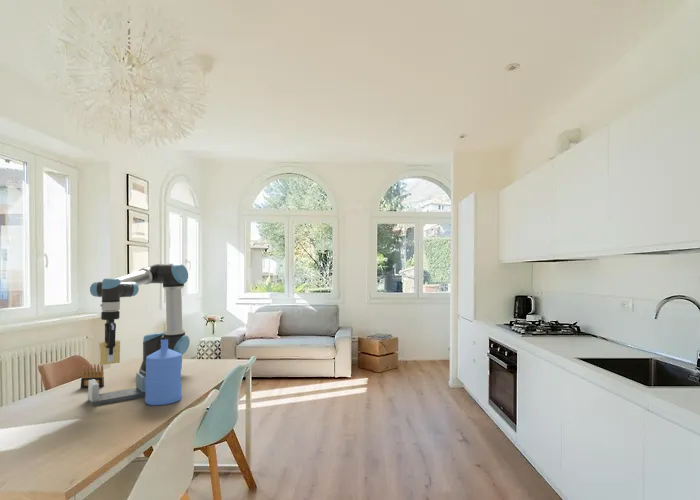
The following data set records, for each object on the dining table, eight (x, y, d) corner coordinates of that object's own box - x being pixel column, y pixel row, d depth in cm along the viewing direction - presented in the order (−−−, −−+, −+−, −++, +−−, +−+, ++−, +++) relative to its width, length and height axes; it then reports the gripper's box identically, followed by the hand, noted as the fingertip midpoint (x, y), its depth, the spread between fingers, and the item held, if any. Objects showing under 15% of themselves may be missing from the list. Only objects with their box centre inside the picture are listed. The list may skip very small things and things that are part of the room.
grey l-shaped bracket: (147, 389, 211) (148, 371, 212) (154, 395, 202) (154, 375, 202) (88, 400, 195) (88, 380, 195) (92, 406, 185) (92, 385, 186)
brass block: (117, 361, 200) (118, 340, 200) (119, 362, 197) (120, 341, 197) (98, 363, 195) (99, 342, 195) (100, 365, 191) (100, 343, 192)
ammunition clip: (104, 386, 218) (104, 363, 219) (102, 387, 216) (103, 364, 217) (82, 387, 217) (82, 364, 217) (80, 388, 215) (81, 364, 215)
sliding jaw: (144, 385, 210) (145, 368, 211) (151, 390, 201) (151, 373, 201) (136, 387, 208) (136, 370, 208) (142, 392, 199) (142, 374, 199)
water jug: (168, 407, 184) (169, 343, 185) (137, 405, 187) (138, 342, 189) (188, 396, 199) (189, 337, 201) (159, 394, 203) (160, 337, 204)
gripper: (98, 310, 201) (97, 358, 200) (104, 312, 188) (103, 365, 187) (115, 309, 206) (114, 356, 205) (123, 311, 193) (122, 362, 191)
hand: (109, 360), depth 196 cm, fingers closed on brass block, 4 cm apart
